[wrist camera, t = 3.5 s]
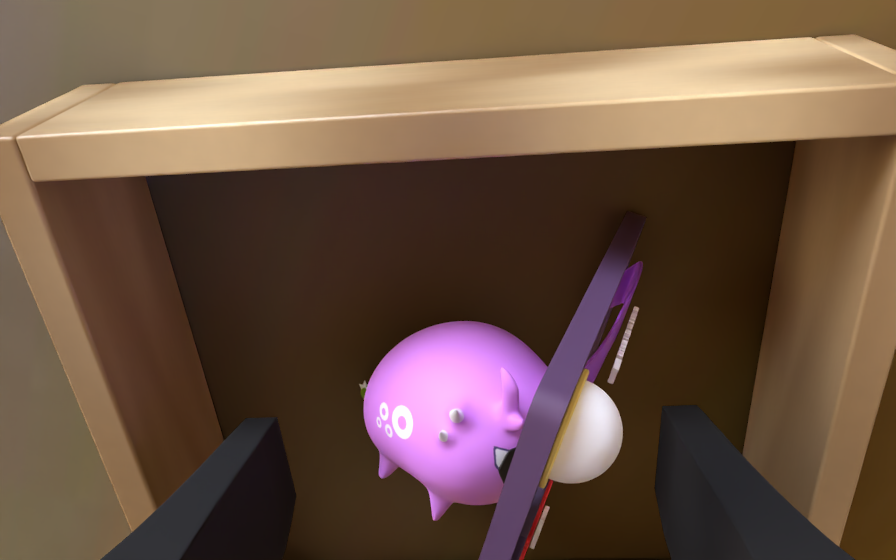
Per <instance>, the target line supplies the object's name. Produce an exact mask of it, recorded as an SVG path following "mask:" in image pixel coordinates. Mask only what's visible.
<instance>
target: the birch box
mask: <svg viewBox="0 0 896 560" xmlns="http://www.w3.org/2000/svg"><path fill="white" fill-rule="evenodd" d="M777 141H796V146H795V152H794V158H793V163H792V169H791V175H790V181H789V187H788V192H787V198H786V204H785V210H784V216H783V221H782V227H781V233H780V239H779V245H778V251H777V256H776V262H775V268H774V274H773V280H772V285H771V291H770V297H769V303H768V309H767V314H766V320H765V326H764V332H763V338H762V344H761V349H760V355H759V361H758V367H757V373H756V378H755V384H754V390H753V396H752V402H751V407H750V413H749V419H748V425H747V431H746V437H745V442H744V448H743V454H742V455H743V456H744V457H745V458H746V459H747V461H748V462H749V463H750V464H751V465H752V466H753V467H754V468H755V469H756V470H757V471H758V472H759V473H760V474H761V475H762V476H763V477H764V478H765V479H766V480H767V481H768V482H769V483H770V484H771V485H772V486H773V487H774V488H775V489H776V490H777V491H778V492H779V493H780V494H781V495H782V496H783V497H784V498H785V499H786V500H787V501H788V502H789V503H790V504H791V505H792V506H793V507H794V508H796V509H797V510H798V511H799V512H800V513H801V514H802V515H803V516H804V517H805V518H806V519H808V520H809V521H810V522H811V523H812V524H813V525H814V526H815V527H816V528H817V529H819V530H820V531H821V532H822V533H823V534H824V535H826V536H827V537H828V538H829V539H830V540H831V541H832V542H834V543H835V544H836V545H837V546H840V542H841V539H842V535H843V532H844V528H845V525H846V521H847V518H848V514H849V511H850V507H851V504H852V500H853V497H854V493H855V490H856V486H857V482H858V479H859V475H860V472H861V468H862V465H863V461H864V458H865V454H866V451H867V447H868V444H869V440H870V437H871V433H872V430H873V426H874V423H875V419H876V416H877V412H878V409H879V405H880V402H881V398H882V395H883V391H884V388H885V384H886V381H887V377H888V374H889V370H890V367H891V363H892V360H893V356H894V353H895V349H896V50H893V49H891V48H888V47H886V46H883V45H881V44H878V43H875V42H873V41H870V40H868V39H865V38H862V37H860V36H857V35H855V34H853V35H837V36H822V37H817V38H815V39H814V38H811V37H806V38H791V39H775V40H760V41H745V42H730V43H715V44H699V45H684V46H669V47H654V48H639V49H623V50H608V51H593V52H578V53H562V54H547V55H532V56H517V57H502V58H486V59H471V60H456V61H441V62H425V63H410V64H395V65H380V66H365V67H349V68H334V69H319V70H304V71H288V72H273V73H258V74H243V75H228V76H212V77H197V78H182V79H167V80H151V81H136V82H121V83H118V84H114V83H108V84H93V85H82V86H80V87H78V88H76V89H74V90H72V91H70V92H68V93H66V94H64V95H62V96H59V97H57V98H55V99H53V100H51V101H49V102H47V103H45V104H43V105H41V106H39V107H36V108H34V109H32V110H30V111H28V112H26V113H24V114H22V115H20V116H18V117H16V118H13V119H11V120H9V121H7V122H5V123H3V124H1V125H0V217H1V219H2V222H3V224H4V226H5V229H6V231H7V234H8V236H9V238H10V241H11V243H12V246H13V248H14V250H15V253H16V255H17V258H18V260H19V262H20V265H21V267H22V270H23V272H24V274H25V277H26V279H27V282H28V284H29V286H30V289H31V291H32V294H33V296H34V298H35V301H36V303H37V306H38V308H39V310H40V313H41V315H42V318H43V320H44V322H45V325H46V327H47V330H48V332H49V334H50V337H51V339H52V342H53V344H54V346H55V349H56V351H57V354H58V356H59V358H60V361H61V363H62V366H63V368H64V370H65V373H66V375H67V378H68V380H69V382H70V385H71V387H72V390H73V392H74V394H75V397H76V399H77V402H78V404H79V406H80V409H81V411H82V414H83V416H84V418H85V421H86V423H87V426H88V428H89V430H90V433H91V435H92V438H93V440H94V442H95V445H96V447H97V450H98V452H99V454H100V457H101V459H102V462H103V464H104V466H105V469H106V471H107V474H108V476H109V478H110V481H111V483H112V486H113V488H114V490H115V493H116V495H117V498H118V500H119V502H120V505H121V507H122V510H123V512H124V514H125V517H126V519H127V522H128V524H129V526H130V529H131V531H132V532H133V531H134V530H135V529H136V528H137V527H138V526H139V525H141V524H142V523H143V522H144V521H145V520H146V519H147V518H148V517H149V516H150V515H151V514H152V513H153V512H154V511H156V510H157V509H158V508H159V507H160V506H161V505H162V504H163V503H164V502H165V501H166V500H167V499H168V498H169V497H170V496H171V495H172V494H173V493H174V492H175V491H176V490H177V489H178V488H179V487H180V486H181V485H182V484H183V483H184V482H185V481H186V480H187V479H188V478H189V477H190V476H191V475H192V474H193V473H194V472H195V471H196V470H197V469H198V468H199V467H200V466H201V465H202V464H203V463H204V462H205V460H206V459H207V458H208V457H209V456H210V455H211V454H212V453H213V452H214V451H215V450H216V449H217V448H218V447H219V446H220V445H221V444H222V443H223V441H224V439H223V436H222V432H221V429H220V426H219V422H218V419H217V416H216V412H215V409H214V406H213V402H212V399H211V396H210V392H209V389H208V386H207V382H206V379H205V375H204V372H203V369H202V365H201V362H200V359H199V355H198V352H197V349H196V345H195V342H194V339H193V335H192V332H191V329H190V325H189V322H188V319H187V315H186V312H185V309H184V305H183V302H182V299H181V295H180V292H179V288H178V285H177V282H176V278H175V275H174V272H173V268H172V265H171V262H170V258H169V255H168V252H167V248H166V245H165V242H164V238H163V235H162V232H161V228H160V225H159V222H158V218H157V215H156V212H155V208H154V205H153V202H152V198H151V195H150V191H149V188H148V185H147V181H146V178H145V176H156V175H175V174H193V173H211V172H230V171H248V170H266V169H284V168H303V167H321V166H339V165H357V164H376V163H394V162H412V161H430V160H449V159H467V158H485V157H504V156H522V155H540V154H558V153H577V152H595V151H613V150H631V149H650V148H668V147H686V146H704V145H723V144H741V143H759V142H777Z"/></svg>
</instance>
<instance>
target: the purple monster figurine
mask: <svg viewBox="0 0 896 560" xmlns="http://www.w3.org/2000/svg"><path fill="white" fill-rule="evenodd" d="M646 218H647V217H645V216H642V215H639V214H636V213H633V212H630V211H627V213H626V215H625V217H624V219H623V221H622V223H621V224H620V226H619V228H618V230H617V232H616V234H615V236H614V238H613V240H612V242H611V244H610V246H609V248H608V250H607V252H606V254H605V256H604V258H603V260H602V262H601V264H600V266H599V268H598V270H597V272H596V274H595V276H594V278H593V280H592V282H591V283H590V285H589V287H588V289H587V291H586V293H585V295H584V297H583V299H582V301H581V303H580V305H579V307H578V309H577V311H576V313H575V315H574V317H573V319H572V321H571V323H570V325H569V327H568V329H567V331H566V333H565V335H564V337H563V339H562V341H561V343H560V344H559V346H558V348H557V350H556V352H555V354H554V356H553V358H552V360H551V362H550V364H549V366H548V367H547V366H546V365H545V363H544V362H543V361H542V360H541V359H540V358H539V357H538V356H537V355H536V354H535V353H534V352H533V351H532V350H531V349H530V348H529V347H528V346H527V345H526V344H525V343H524V342H522V341H521V340H520V339H518V338H517V337H515V336H514V335H512V334H511V333H509V332H507V331H505V330H503V329H501V328H498V327H496V326H493V325H490V324H486V323H482V322H475V321H454V322H447V323H442V324H437V325H434V326H431V327H428V328H425V329H423V330H420V331H418V332H416V333H414V334H412V335H410V336H409V337H407V338H405V339H404V340H403V341H401V342H400V343H398V344H397V345H396V346H395V347H394V348H393V349H392V350H390V351H389V352H388V353H387V355H386V356H385V357H384V358H383V359H382V360H381V362H380V363H379V365H378V366H377V368H376V369H375V371H374V373H373V374H372V376H371V378H370V380H369V383H368V384H366V381H365V380H364V383H363V385H362V384H359V386H360V388H361V397H362V398H363V399H364V406H363V412H364V420H365V425H366V428H367V431H368V434H369V436H370V438H371V440H372V441H373V443H374V444H375V446H376V447H377V448H378V450H379V453H380V464H379V476H380V478H386V477H388V476H389V475H391V474H392V473H393V472H394V471H395V470H396V469H397V468H398V467H400V468H402V469H403V470H405V471H406V472H408V473H409V474H411V475H412V476H413V477H415V478H416V479H417V480H419V481H420V482H421V483H422V484H423V485H424V486H425V487H426V488H427V490H428V492H429V496H430V502H431V510H432V517H433V520H434V521H437V520H439V519H440V518H441V517H442V515H443V514H444V513H445V511H446V510H447V509H448V508H449V507H450V505H451V504H452V503H454V502H457V503H461V504H466V505H488V504H494V503H497V506H496V509H495V512H494V515H493V518H492V521H491V524H490V527H489V530H488V533H487V536H486V539H485V542H484V545H483V548H482V551H481V554H480V557H479V560H523V559H524V557H525V554H526V552H527V549H528V546H529V544H530V541H531V539H532V536H533V533H534V531H535V528H536V526H537V523H538V520H539V518H540V515H541V512H542V510H543V507H544V505H545V502H546V499H547V497H548V494H549V492H550V489H551V486H552V484H553V481H552V480H554V481H557V482H562V483H582V482H586V481H589V480H592V479H594V478H596V477H598V476H599V475H601V474H602V473H604V472H605V471H606V470H607V469H608V468H609V467H610V466H611V465H612V464H613V462H614V461H615V459H616V457H617V456H618V453H619V451H620V448H621V444H622V438H623V427H622V421H621V417H620V414H619V411H618V409H617V407H616V405H615V404H614V402H613V401H612V399H611V398H610V397H609V396H608V395H607V393H605V392H604V391H603V390H602V389H601V388H600V387H598V386H597V385H595V384H593V382H594V380H595V378H596V377H597V375H598V373H599V370H600V368H601V366H602V364H603V362H604V360H605V358H606V356H607V354H608V352H609V350H610V348H611V346H612V344H613V343H614V341H615V339H616V337H617V335H618V332H619V330H620V328H621V325H622V322H623V320H624V317H625V315H626V312H627V310H628V307H629V304H630V302H631V299H632V297H633V294H634V292H635V289H636V286H637V284H638V281H639V279H640V276H641V272H642V268H643V262H642V261H639V262H637V263H635V264H633V265H632V266H630V267H629V268H628V266H629V264H630V261H631V258H632V256H633V253H634V250H635V248H636V245H637V242H638V240H639V237H640V234H641V232H642V229H643V226H644V224H645V221H646ZM621 303H623V304H624V305H623V307H622V309H621V311H620V313H619V315H618V317H617V319H616V321H615V323H614V325H613V326H612V328H611V330H610V332H609V333H608V335H607V337H606V338H605V340H604V341H603V342H602V344H601V345H600V347H599V348H598V346H599V343H600V341H601V338H602V336H603V333H604V330H605V328H606V325H607V322H608V320H609V317H610V314H611V312H612V309H613V307H614V306H617V305H619V304H621ZM638 310H639V308H638V307H635V306H634V309H633V311H632V314H631V316H630V319H629V322H628V324H627V328H626V330H625V333H624V336H623V339H622V342H621V344H620V347H619V350H618V353H617V356H616V359H615V361H614V365H613V367H612V370H611V373H610V376H609V379H608V381H607V382H608V383H611V384H613V383H614V380H615V378H616V375H617V373H618V371H619V368H620V365H621V362H622V358H623V355H624V352H625V349H626V346H627V343H628V340H629V337H630V335H631V331H632V328H633V325H634V322H635V320H636V316H637V313H638ZM550 479H551V480H550ZM549 508H550V507H549V506H545V508H544V511H543V513H542V516H541V519H540V521H539V524H538V526H537V529H536V532H535V534H534V537H533V539H532V542H531V545H530V548H532V549H534V547H535V545H536V542H537V539H538V537H539V534H540V532H541V529H542V526H543V524H544V521H545V518H546V516H547V513H548V510H549Z"/></svg>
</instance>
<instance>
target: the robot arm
mask: <svg viewBox="0 0 896 560" xmlns="http://www.w3.org/2000/svg"><path fill="white" fill-rule="evenodd" d="M655 492H656V497H657V502H658V507H659V513H660V517H661V522H662V527H663V531H664V536H665V540H666V544H667V547H668V550H669V553H670V556H671V559H672V560H855V559H854V558H852V557H851V556H850V555H849V554H847V553H846V552H845V551H844V550H842V549H841V548H840V547H839V546H837V545H836V544H835V543H834V542H832V541H831V540H830V539H829V538H828V537H827V536H826V535H824V534H823V533H822V532H821V531H820V530H819V529H817V528H816V527H815V526H814V525H813V524H812V523H811V522H810V521H809V520H808V519H806V518H805V517H804V516H803V515H802V514H801V513H800V512H799V511H798V510H797V509H796V508H794V507H793V506H792V505H791V504H790V503H789V502H788V501H787V500H786V499H785V498H784V497H783V496H782V495H781V494H780V493H779V492H778V491H777V490H776V489H775V488H774V487H773V486H772V485H771V484H770V483H769V482H768V481H767V480H766V479H765V478H764V477H763V476H762V475H761V474H760V473H759V472H758V471H757V470H756V469H755V468H754V467H753V466H752V465H751V464H750V463H749V462H748V461H747V459H746V458H745V457H744V456H743V455H742V454H741V453H740V452H739V451H738V450H737V449H736V448H735V447H734V445H733V444H732V443H731V442H730V441H729V440H728V439H727V438H726V437H725V436H724V434H723V433H722V432H721V431H720V430H719V429H718V428H717V427H716V425H715V424H714V423H713V422H712V421H711V420H710V419H709V417H708V416H707V415H706V414H705V413H704V412H703V411H702V410H701V409H700V408H699V407H698V406H697V405H683V406H662V416H661V426H660V437H659V448H658V458H657V469H656V480H655ZM295 500H296V493H295V488H294V484H293V480H292V476H291V472H290V468H289V464H288V460H287V456H286V452H285V448H284V444H283V439H282V435H281V431H280V427H279V423H278V419H277V417H268V418H246V419H245V420H244V421H243V422H242V423H241V424H240V425H239V426H238V427H237V428H236V429H235V430H234V431H233V432H232V433H231V434H230V435H229V436H228V437H227V438H226V439H225V440H224V441H223V443H222V444H221V445H220V446H219V447H218V448H217V449H216V450H215V451H214V452H213V453H212V454H211V455H210V456H209V457H208V458H207V459H206V460H205V462H204V463H203V464H202V465H201V466H200V467H199V468H198V469H197V470H196V471H195V472H194V473H193V474H192V475H191V476H190V477H189V478H188V479H187V480H186V481H185V482H184V483H183V484H182V485H181V486H180V487H179V488H178V489H177V490H176V491H175V492H174V493H173V494H172V495H171V496H170V497H169V498H168V499H167V500H166V501H165V502H164V503H163V504H162V505H161V506H160V507H159V508H158V509H157V510H156V511H154V512H153V513H152V514H151V515H150V516H149V517H148V518H147V519H146V520H145V521H144V522H143V523H142V524H141V525H139V526H138V527H137V528H136V529H135V530H134V531H133V532H132V533H131V534H130V535H129V536H128V537H126V538H125V539H124V540H123V541H122V542H121V543H119V544H118V545H117V546H116V547H115V548H114V549H112V550H111V551H110V552H109V553H108V554H106V555H105V556H104V557H103V558H101V559H100V560H282V559H283V555H284V552H285V549H286V546H287V541H288V536H289V531H290V527H291V522H292V516H293V511H294V505H295Z"/></svg>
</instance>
